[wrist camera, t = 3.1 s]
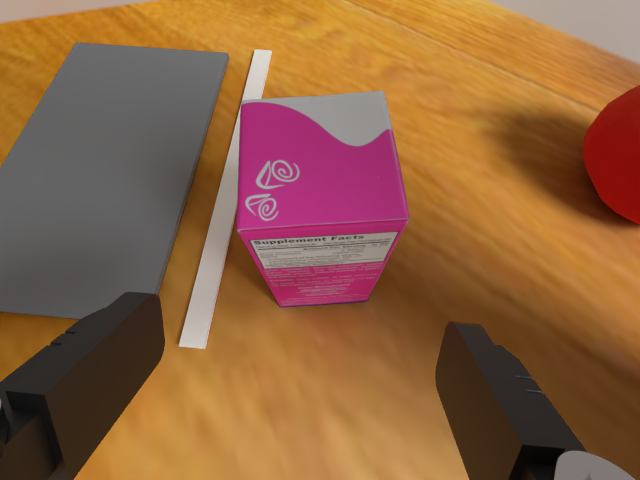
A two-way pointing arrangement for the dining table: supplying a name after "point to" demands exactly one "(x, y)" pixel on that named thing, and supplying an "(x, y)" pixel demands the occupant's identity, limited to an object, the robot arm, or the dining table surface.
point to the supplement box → (319, 195)
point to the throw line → (221, 224)
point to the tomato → (616, 154)
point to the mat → (103, 177)
